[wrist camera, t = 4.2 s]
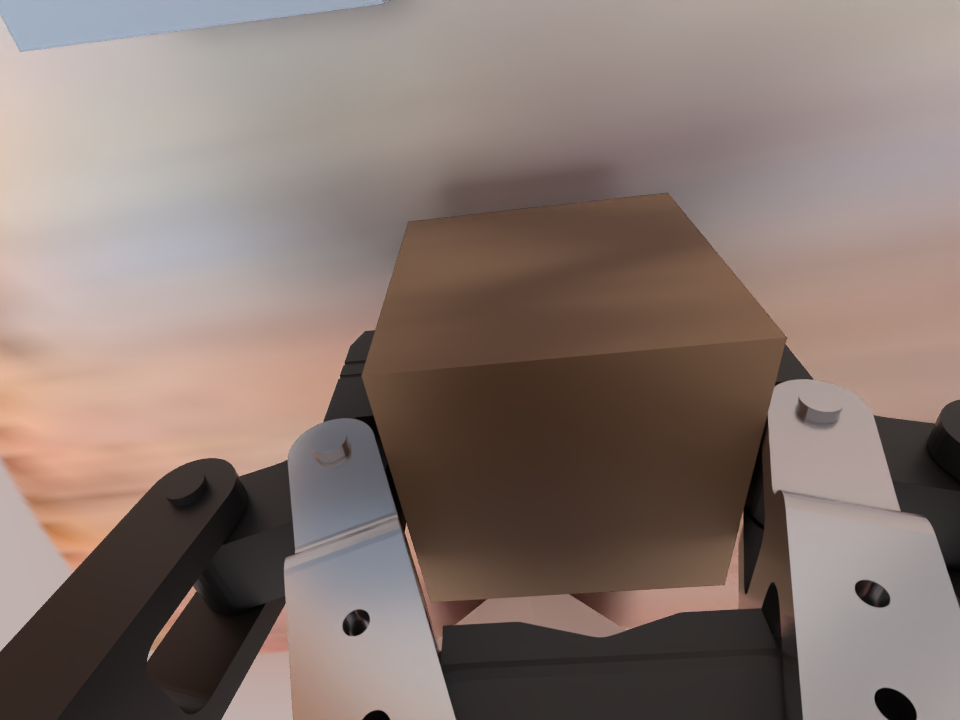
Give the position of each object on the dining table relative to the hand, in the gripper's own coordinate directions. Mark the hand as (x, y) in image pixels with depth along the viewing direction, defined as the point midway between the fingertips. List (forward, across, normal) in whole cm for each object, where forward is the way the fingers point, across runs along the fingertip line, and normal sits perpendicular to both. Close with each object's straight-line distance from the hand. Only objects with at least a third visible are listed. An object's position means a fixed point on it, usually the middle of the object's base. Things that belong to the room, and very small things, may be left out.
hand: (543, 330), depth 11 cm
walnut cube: (+1, 0, 0) cm, 1 cm away
